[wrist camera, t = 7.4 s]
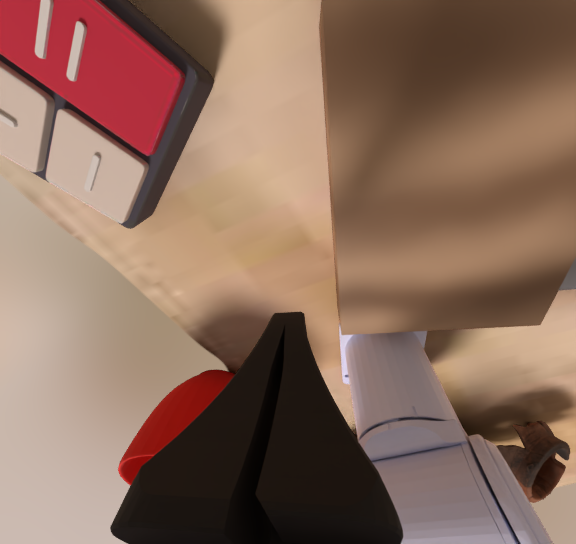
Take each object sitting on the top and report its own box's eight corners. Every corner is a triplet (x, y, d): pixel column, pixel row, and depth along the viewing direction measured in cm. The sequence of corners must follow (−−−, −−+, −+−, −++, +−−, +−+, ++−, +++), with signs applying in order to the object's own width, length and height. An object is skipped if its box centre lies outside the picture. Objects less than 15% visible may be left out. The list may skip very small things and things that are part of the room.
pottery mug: (441, 401, 30) (524, 465, 22) (494, 373, 32) (585, 421, 25) (442, 471, 33) (514, 548, 25) (489, 440, 35) (568, 501, 28)
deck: (506, 295, 20) (539, 325, 17) (337, 306, 22) (341, 335, 19) (642, -52, 10) (773, -121, 7) (319, 27, 13) (321, -3, 10)
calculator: (125, 236, 16) (-187, 58, 12) (156, 214, 20) (-72, 70, 15) (195, 70, 11) (-305, -366, 7) (220, 80, 15) (-92, -198, 10)
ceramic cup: (166, 411, 35) (120, 502, 27) (176, 338, 26) (113, 439, 18) (250, 433, 37) (232, 526, 28) (286, 370, 28) (276, 478, 19)
